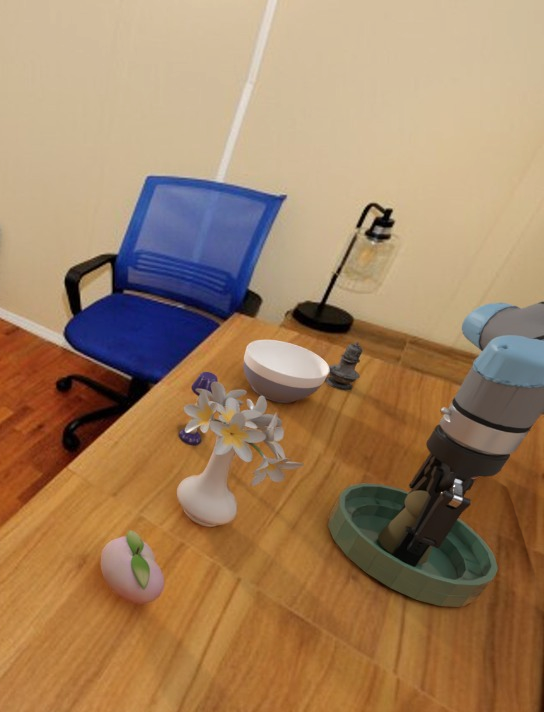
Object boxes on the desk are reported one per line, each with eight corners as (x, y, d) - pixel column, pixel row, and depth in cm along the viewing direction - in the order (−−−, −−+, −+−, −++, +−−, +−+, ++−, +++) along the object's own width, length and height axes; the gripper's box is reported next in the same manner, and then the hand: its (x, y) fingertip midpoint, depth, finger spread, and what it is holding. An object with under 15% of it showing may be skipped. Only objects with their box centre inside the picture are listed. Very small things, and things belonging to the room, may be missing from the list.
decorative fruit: (88, 561, 82) (98, 519, 78) (139, 562, 82) (151, 520, 78) (107, 620, 74) (119, 577, 69) (163, 621, 74) (179, 578, 69)
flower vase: (220, 572, 80) (270, 456, 69) (139, 485, 96) (169, 379, 85) (282, 549, 84) (339, 435, 72) (194, 469, 99) (230, 364, 88)
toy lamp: (202, 449, 104) (225, 384, 97) (178, 444, 106) (198, 379, 98) (199, 433, 108) (220, 370, 101) (175, 429, 110) (194, 366, 102)
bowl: (223, 369, 129) (234, 337, 124) (291, 373, 127) (305, 341, 122) (253, 410, 115) (266, 375, 110) (330, 415, 113) (346, 381, 108)
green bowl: (467, 545, 84) (486, 520, 81) (486, 636, 71) (508, 611, 69) (329, 490, 94) (341, 467, 92) (323, 561, 82) (338, 537, 79)
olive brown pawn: (376, 548, 82) (406, 500, 77) (379, 524, 86) (407, 478, 81) (427, 571, 78) (462, 523, 73) (427, 546, 82) (460, 498, 77)
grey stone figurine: (332, 389, 121) (351, 347, 115) (318, 375, 126) (336, 334, 120) (359, 392, 120) (380, 349, 114) (344, 377, 125) (364, 336, 119)
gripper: (431, 394, 80) (371, 497, 91) (444, 465, 67) (372, 575, 78) (499, 413, 76) (428, 519, 86) (527, 493, 63) (439, 606, 73)
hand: (401, 545), depth 82 cm, fingers closed on olive brown pawn, 6 cm apart
